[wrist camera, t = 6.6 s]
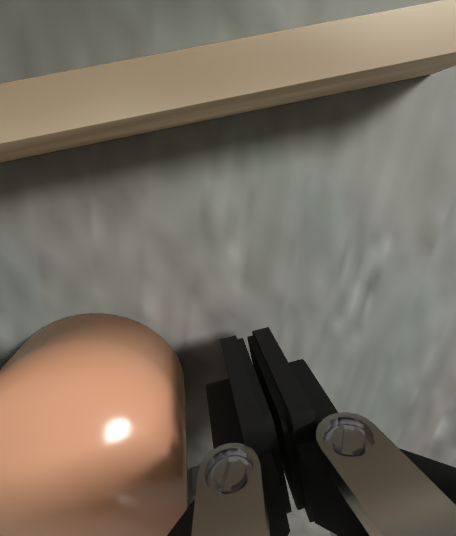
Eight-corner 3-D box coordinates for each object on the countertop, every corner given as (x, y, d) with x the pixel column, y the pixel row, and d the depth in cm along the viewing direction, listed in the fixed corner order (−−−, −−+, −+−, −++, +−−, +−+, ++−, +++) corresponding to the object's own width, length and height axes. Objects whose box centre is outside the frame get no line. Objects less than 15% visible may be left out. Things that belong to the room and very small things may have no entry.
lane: (435, 534, 17) (488, 610, 14) (-147, 718, 15) (-225, 851, 12) (432, 36, 10) (535, -17, 7) (-659, 250, 8) (-1139, 297, 5)
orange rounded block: (203, 429, 13) (216, 560, 9) (51, 477, 12) (-16, 638, 8) (154, 291, 11) (138, 371, 7) (-26, 344, 11) (-166, 462, 6)
